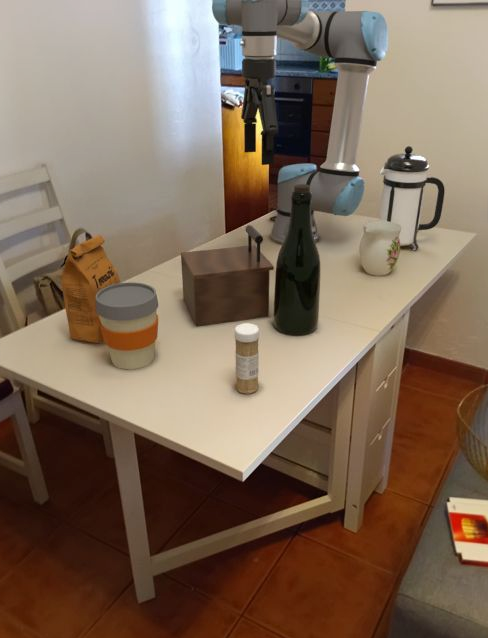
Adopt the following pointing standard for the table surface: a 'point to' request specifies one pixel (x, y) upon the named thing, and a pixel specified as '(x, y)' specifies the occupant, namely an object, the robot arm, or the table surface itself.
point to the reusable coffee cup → (129, 323)
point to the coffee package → (86, 287)
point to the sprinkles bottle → (247, 357)
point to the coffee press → (407, 195)
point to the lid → (228, 259)
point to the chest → (226, 296)
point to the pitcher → (380, 247)
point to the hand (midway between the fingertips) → (258, 158)
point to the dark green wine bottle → (298, 270)
